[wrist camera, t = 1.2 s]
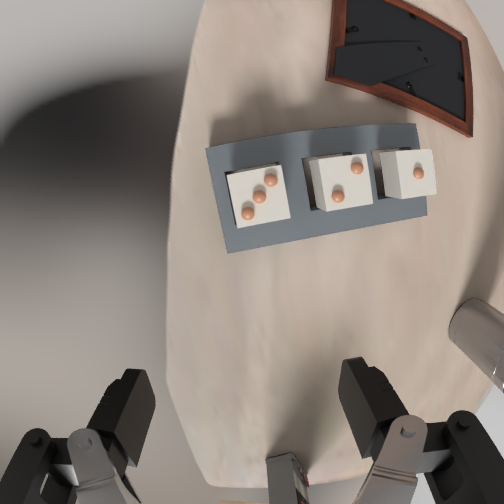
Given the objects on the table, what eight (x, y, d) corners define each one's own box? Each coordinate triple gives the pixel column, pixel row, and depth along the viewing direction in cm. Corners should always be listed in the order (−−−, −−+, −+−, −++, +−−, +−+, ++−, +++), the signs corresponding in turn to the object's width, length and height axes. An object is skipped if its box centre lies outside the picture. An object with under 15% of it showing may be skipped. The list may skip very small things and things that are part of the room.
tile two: (350, 155, 28) (367, 153, 24) (357, 199, 30) (374, 204, 25) (307, 161, 29) (318, 159, 24) (315, 206, 30) (327, 212, 25)
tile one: (411, 150, 28) (433, 148, 24) (416, 190, 30) (438, 194, 25) (377, 153, 28) (397, 150, 24) (383, 195, 30) (403, 199, 25)
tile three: (276, 166, 29) (281, 164, 24) (284, 212, 30) (291, 218, 26) (229, 175, 29) (226, 175, 24) (238, 221, 30) (237, 229, 26)
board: (403, 126, 31) (415, 123, 28) (415, 212, 34) (427, 215, 31) (208, 150, 32) (205, 148, 29) (229, 247, 35) (227, 253, 32)
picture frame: (324, 81, 30) (466, 137, 31) (328, 76, 28) (473, 137, 30) (332, -19, 25) (461, 40, 26) (336, -26, 23) (468, 37, 24)
